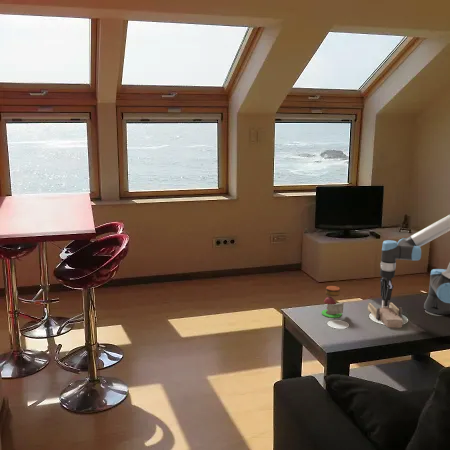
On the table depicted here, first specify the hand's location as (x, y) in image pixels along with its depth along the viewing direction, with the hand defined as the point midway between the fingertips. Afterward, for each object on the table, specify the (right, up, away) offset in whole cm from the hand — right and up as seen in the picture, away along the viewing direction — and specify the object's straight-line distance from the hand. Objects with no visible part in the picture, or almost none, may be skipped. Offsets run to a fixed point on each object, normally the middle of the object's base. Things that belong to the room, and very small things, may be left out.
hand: (384, 310), depth 268 cm
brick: (0, -4, -8) cm, 9 cm away
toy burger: (-29, -2, 0) cm, 29 cm away
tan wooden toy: (0, -2, +1) cm, 2 cm away
